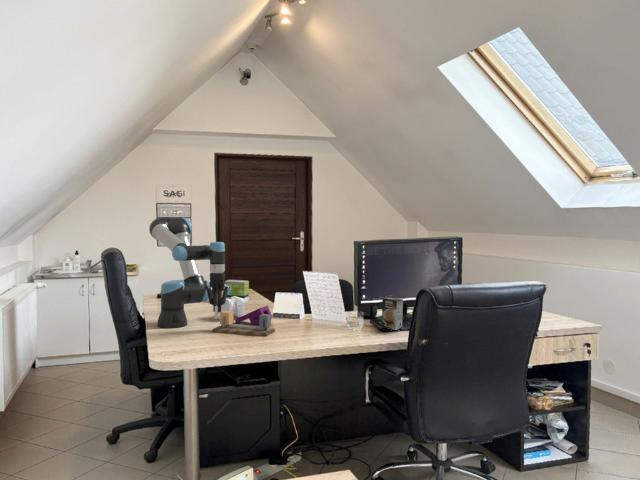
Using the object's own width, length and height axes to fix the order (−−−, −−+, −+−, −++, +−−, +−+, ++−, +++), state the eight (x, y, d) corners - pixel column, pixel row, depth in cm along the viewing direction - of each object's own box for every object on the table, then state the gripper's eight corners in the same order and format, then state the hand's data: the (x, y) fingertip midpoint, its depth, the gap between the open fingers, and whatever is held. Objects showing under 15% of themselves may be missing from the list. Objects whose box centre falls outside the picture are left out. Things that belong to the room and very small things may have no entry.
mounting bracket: (237, 336, 260) (265, 323, 254) (231, 321, 261) (259, 308, 255) (246, 332, 269) (273, 320, 263) (240, 317, 270) (267, 305, 264)
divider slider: (218, 327, 243) (218, 312, 243) (224, 324, 250) (224, 310, 249) (227, 327, 242) (227, 313, 242) (233, 325, 248) (233, 311, 248)
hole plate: (212, 332, 241) (212, 328, 241) (222, 327, 252) (222, 324, 252) (266, 336, 234) (266, 333, 234) (274, 331, 244) (275, 328, 244)
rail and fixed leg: (218, 328, 243) (218, 313, 243) (224, 325, 250) (224, 311, 249) (265, 331, 236) (266, 316, 236) (270, 329, 243) (270, 314, 242)
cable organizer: (217, 316, 282) (217, 296, 281) (234, 314, 288) (234, 295, 287) (228, 321, 269) (228, 300, 269) (245, 319, 276) (246, 298, 275)
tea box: (223, 302, 331) (223, 281, 330) (228, 300, 341) (228, 279, 340) (244, 303, 328) (244, 281, 328) (249, 301, 338) (249, 280, 338)
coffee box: (381, 328, 254) (381, 298, 254) (388, 326, 259) (388, 296, 258) (395, 331, 248) (396, 300, 248) (402, 329, 253) (403, 298, 252)
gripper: (202, 272, 245) (202, 319, 246) (225, 273, 241) (225, 320, 242) (209, 271, 252) (209, 316, 253) (232, 272, 249) (232, 317, 249)
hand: (217, 318), depth 248 cm, fingers closed
